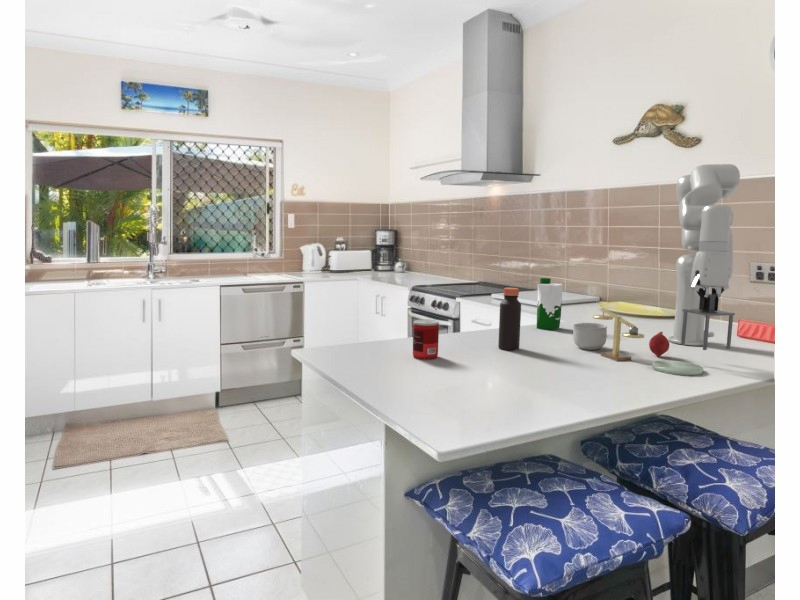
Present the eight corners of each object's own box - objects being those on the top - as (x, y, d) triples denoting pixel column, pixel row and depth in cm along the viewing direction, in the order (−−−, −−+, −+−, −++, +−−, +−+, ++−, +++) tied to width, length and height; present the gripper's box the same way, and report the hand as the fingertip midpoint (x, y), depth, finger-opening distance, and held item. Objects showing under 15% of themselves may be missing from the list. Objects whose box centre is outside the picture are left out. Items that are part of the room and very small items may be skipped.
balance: (587, 351, 185) (590, 307, 183) (603, 350, 187) (606, 306, 185) (629, 366, 165) (632, 316, 163) (646, 365, 167) (650, 316, 165)
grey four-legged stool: (705, 342, 174) (709, 292, 172) (731, 349, 165) (736, 296, 163) (679, 343, 171) (683, 292, 170) (704, 350, 162) (709, 296, 160)
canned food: (440, 355, 175) (441, 320, 174) (433, 360, 167) (434, 324, 166) (417, 353, 177) (418, 318, 176) (409, 358, 170) (409, 322, 169)
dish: (679, 363, 170) (679, 359, 170) (713, 374, 157) (714, 370, 157) (642, 365, 166) (642, 361, 166) (675, 376, 154) (675, 372, 154)
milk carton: (540, 325, 233) (543, 277, 231) (562, 328, 229) (565, 278, 226) (533, 328, 226) (535, 278, 224) (555, 331, 221) (558, 280, 219)
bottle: (498, 346, 191) (501, 287, 188) (519, 347, 189) (521, 287, 187) (497, 350, 184) (500, 289, 181) (519, 351, 183) (522, 289, 180)
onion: (659, 359, 175) (661, 333, 174) (644, 355, 180) (646, 330, 179) (672, 357, 178) (674, 332, 177) (656, 353, 183) (658, 329, 182)
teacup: (608, 352, 184) (609, 328, 182) (573, 350, 186) (574, 326, 185) (601, 344, 197) (603, 321, 196) (569, 342, 199) (570, 320, 198)
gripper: (725, 247, 171) (719, 308, 173) (681, 247, 166) (676, 309, 168) (746, 248, 163) (740, 311, 165) (701, 247, 159) (695, 312, 161)
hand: (708, 309), depth 167 cm, fingers closed on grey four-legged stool, 2 cm apart
